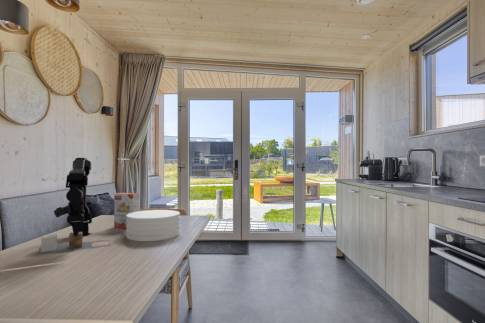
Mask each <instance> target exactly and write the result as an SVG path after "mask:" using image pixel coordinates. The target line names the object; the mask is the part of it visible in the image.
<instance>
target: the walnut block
mask: <svg viewBox="0 0 485 323" xmlns="http://www.w3.org/2000/svg"><path fill="white" fill-rule="evenodd" d="M82 235H83V232H79V233H78V235H77V236H74V233H73V232H69V234H68V237H69V238H68V244H69V249H71V248H80V247H82V243H83V236H82Z"/></svg>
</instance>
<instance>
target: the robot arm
mask: <svg viewBox="0 0 485 323" xmlns="http://www.w3.org/2000/svg"><path fill="white" fill-rule="evenodd" d="M91 171H92V161H90V160H88V158H86V157H75V158H74V160H73V161H72V170H70V171H69V172H68V174H67V175H66V180H65V189H69V190H68V191H67V192H66V195H65V198H66V199H67V201H68V203H67V205H65V206H59V207H57V208H56V209H54V210H53V213H54V215H55V218H60V217H61V216H64V215H67V216H66V222H67V224H69V225H70V226H71V229H72V233H74V236H77V235H78V233H79V232H83V235H82V237H84V236H88V235H91V232H89V230H90V229H89V225H90V224H92V223H93V215H92V214H91V212H90V208H89V206H87V186H88V183H89V182H88V181H89V177H88V176H89V175H90V174H91Z"/></svg>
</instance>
